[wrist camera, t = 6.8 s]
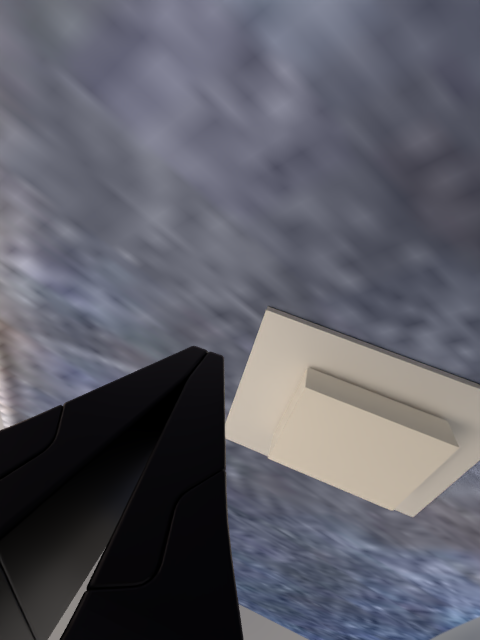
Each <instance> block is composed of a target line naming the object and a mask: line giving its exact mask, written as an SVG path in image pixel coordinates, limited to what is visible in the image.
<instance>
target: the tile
mask: <svg viewBox="0 0 480 640" xmlns="http://www.w3.org/2000/svg"><path fill="white" fill-rule="evenodd" d="M458 449H459V445H458V443H457V441H456V439H455V436H454V434H453V432H452V430H451V427H450V425H449V423H448V421H446V420H443V419H441V418H438V417H435V416H433V415H430V414H428V413H425V412H422V411H420V410H417V409H415V408H412V407H409V406H407V405H404V404H402V403H399V402H396V401H394V400H391V399H389V398H386V397H384V396H381V395H378V394H376V393H373V392H371V391H368V390H365V389H363V388H360V387H358V386H355V385H352V384H350V383H347V382H345V381H342V380H339V379H337V378H334V377H332V376H329V375H326V374H324V373H321V372H319V371H316V370H314V369H311V368H308V367H307V369H306V371H305V373H304V375H303V377H302V379H301V381H300V383H299V385H298V387H297V389H296V391H295V393H294V395H293V397H292V399H291V401H290V403H289V405H288V407H287V409H286V411H285V413H284V415H283V417H282V419H281V421H280V423H279V425H278V427H277V429H276V431H275V433H274V435H273V437H272V441H271V446H270V451H269V455H268V459H271V460H273V461H275V462H278V463H280V464H282V465H285V466H287V467H290V468H292V469H294V470H297V471H299V472H301V473H304V474H306V475H308V476H311V477H313V478H316V479H318V480H320V481H323V482H325V483H327V484H330V485H332V486H334V487H337V488H339V489H342V490H344V491H346V492H349V493H351V494H353V495H356V496H358V497H361V498H363V499H365V500H368V501H370V502H372V503H375V504H377V505H379V506H382V507H384V508H387V509H389V510H391V511H393V510H394V509H395V508H396V507H397V506H398V505H399V504H400V503H401V502H402V501H403V500H404V499H406V498H407V497H408V496H409V495H410V494H411V493H412V492H413V491H414V490H415V489H416V488H417V487H418V486H419V485H420V484H422V483H423V482H424V481H425V480H426V479H427V478H428V477H429V476H430V475H431V474H432V473H433V472H434V471H435V470H436V469H438V468H439V467H440V466H441V465H442V464H443V463H444V462H445V461H446V460H447V459H448V458H449V457H450V456H451V455H452V454H454V453H455V452H456V451H457V450H458Z"/></svg>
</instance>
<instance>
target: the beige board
mask: <svg viewBox="0 0 480 640" xmlns="http://www.w3.org/2000/svg"><path fill="white" fill-rule="evenodd" d="M307 367H308V368H311V369H314V370H316V371H319V372H321V373H324V374H326V375H329V376H332V377H334V378H337V379H339V380H342V381H345V382H347V383H350V384H352V385H355V386H358V387H360V388H363V389H365V390H368V391H371V392H373V393H376V394H378V395H381V396H384V397H386V398H389V399H391V400H394V401H396V402H399V403H402V404H404V405H407V406H409V407H412V408H415V409H417V410H420V411H422V412H425V413H428V414H430V415H433V416H435V417H438V418H441V419H443V420H446V421H448V423H449V425H450V427H451V430H452V432H453V434H454V436H455V439H456V441H457V443H458V445H459V449H458V450H457V451H456V452H455V453H454V454H452V455H451V456H450V457H449V458H448V459H447V460H446V461H445V462H444V463H443V464H442V465H441V466H440V467H439V468H438V469H436V470H435V471H434V472H433V473H432V474H431V475H430V476H429V477H428V478H427V479H426V480H425V481H424V482H423V483H422V484H420V485H419V486H418V487H417V488H416V489H415V490H414V491H413V492H412V493H411V494H410V495H409V496H408V497H407V498H406V499H404V500H403V501H402V502H401V503H400V504H399V505H398V506H397V507H396V508H395V509H394V510H397V511H399V512H401V513H404V514H406V515H409V516H411V517H414V516H415V515H416V514H417V513H419V512H420V511H421V510H422V509H423V508H424V507H426V506H427V505H428V504H429V503H430V502H431V501H433V500H434V499H435V498H436V497H437V496H438V495H440V494H441V493H442V492H443V491H444V490H445V489H447V488H448V487H449V486H450V485H451V484H452V483H454V482H455V481H456V480H457V479H458V478H459V477H461V476H462V475H463V474H464V473H465V472H466V471H468V470H469V469H470V468H471V467H472V466H473V465H475V464H476V463H477V462H478V461H479V460H480V385H479V384H477V383H474V382H471V381H469V380H466V379H463V378H460V377H458V376H455V375H452V374H450V373H447V372H444V371H442V370H439V369H436V368H433V367H431V366H428V365H425V364H423V363H420V362H417V361H415V360H412V359H409V358H406V357H404V356H401V355H398V354H396V353H393V352H390V351H387V350H385V349H382V348H379V347H377V346H374V345H371V344H369V343H366V342H363V341H360V340H358V339H355V338H352V337H350V336H347V335H344V334H342V333H339V332H336V331H333V330H331V329H328V328H325V327H323V326H320V325H317V324H314V323H312V322H309V321H306V320H304V319H301V318H298V317H296V316H293V315H290V314H287V313H285V312H282V311H279V310H277V309H274V308H271V307H269V306H268V307H267V310H266V312H265V315H264V318H263V321H262V323H261V326H260V329H259V332H258V334H257V337H256V340H255V343H254V346H253V348H252V351H251V354H250V357H249V359H248V362H247V365H246V368H245V371H244V373H243V376H242V379H241V382H240V384H239V387H238V390H237V393H236V396H235V398H234V401H233V404H232V407H231V409H230V412H229V415H228V418H227V421H226V423H225V438H226V439H228V440H231V441H233V442H236V443H238V444H240V445H243V446H245V447H247V448H250V449H252V450H255V451H257V452H259V453H262V454H264V455H266V456H268V455H269V451H270V446H271V441H272V437H273V435H274V433H275V431H276V429H277V427H278V425H279V423H280V421H281V419H282V417H283V415H284V413H285V411H286V409H287V407H288V405H289V403H290V401H291V399H292V397H293V395H294V393H295V391H296V389H297V387H298V385H299V383H300V381H301V379H302V377H303V375H304V373H305V371H306V369H307Z"/></svg>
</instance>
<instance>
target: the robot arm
mask: <svg viewBox="0 0 480 640" xmlns="http://www.w3.org/2000/svg"><path fill="white" fill-rule="evenodd" d="M225 470H226V449H225V389H224V357H223V356H222V355H219V354H216V353H213V352H208V351H207V350H205V349H202V348H199V347H197V346H191V347H189V348H187V349H185V350H182V351H180V352H178V353H176V354H173V355H171V356H169V357H167V358H164V359H162V360H160V361H158V362H155V363H153V364H151V365H149V366H147V367H144V368H142V369H140V370H138V371H135V372H133V373H131V374H129V375H126V376H124V377H122V378H120V379H117V380H115V381H113V382H111V383H108V384H106V385H104V386H102V387H100V388H97V389H95V390H93V391H91V392H88V393H86V394H84V395H82V396H79V397H77V398H75V399H73V400H70V401H68V402H66V403H64V405H63V406H62V405H59V406H57V407H54V408H52V409H50V410H48V411H45V412H43V413H41V414H39V415H36V416H34V417H31V418H29V419H27V420H24V421H22V422H20V423H17V424H15V425H13V426H10V427H8V428H5V429H2V430H0V640H47V639H48V638H49V636H50V635H51V633H52V632H53V630H54V629H55V627H56V625H57V624H58V622H59V620H60V619H61V617H62V616H63V614H64V613H65V611H66V609H67V608H68V606H69V604H70V603H71V601H72V600H73V598H74V597H75V595H76V593H77V592H78V590H79V589H80V587H81V586H82V584H83V582H84V581H85V579H86V578H87V576H88V574H89V573H90V571H91V570H92V568H93V566H94V565H95V563H96V562H97V560H98V558H99V557H100V555H101V554H102V552H103V551H104V552H103V554H102V556H101V559H100V561H99V562H98V565H97V567H96V569H95V571H94V573H93V575H92V577H91V579H90V581H89V583H88V585H87V591H86V592H84V594H83V596H82V598H81V600H80V602H79V604H78V606H77V608H76V610H75V612H74V614H73V616H72V618H71V619H70V621H69V624H68V625H67V627H66V629H65V631H64V633H63V634H62V636H61V638H60V640H243V633H242V626H241V618H240V611H239V604H238V597H237V590H236V583H235V576H234V569H233V562H232V554H231V545H230V535H229V526H228V512H227V493H226V472H225ZM105 547H106V548H105ZM104 549H105V550H104Z"/></svg>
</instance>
